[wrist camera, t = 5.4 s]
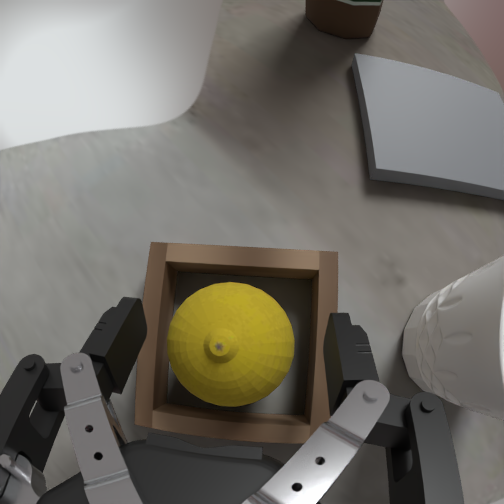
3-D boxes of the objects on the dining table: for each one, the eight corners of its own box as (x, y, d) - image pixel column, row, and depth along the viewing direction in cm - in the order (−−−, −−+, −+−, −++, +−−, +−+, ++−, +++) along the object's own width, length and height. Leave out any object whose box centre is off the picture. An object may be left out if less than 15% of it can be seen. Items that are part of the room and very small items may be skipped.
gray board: (369, 179, 20) (376, 168, 19) (351, 65, 23) (354, 53, 22) (527, 205, 19) (537, 198, 18) (491, 101, 23) (498, 92, 21)
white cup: (453, 260, 18) (553, 202, 9) (501, 350, 16) (606, 338, 7) (369, 330, 18) (467, 312, 8) (426, 426, 16) (529, 467, 6)
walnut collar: (150, 415, 17) (134, 424, 14) (164, 254, 19) (151, 242, 17) (319, 430, 16) (327, 443, 14) (328, 263, 19) (337, 252, 16)
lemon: (173, 331, 18) (112, 321, 10) (250, 277, 19) (240, 231, 11) (227, 409, 17) (201, 455, 9) (306, 354, 17) (339, 362, 10)
